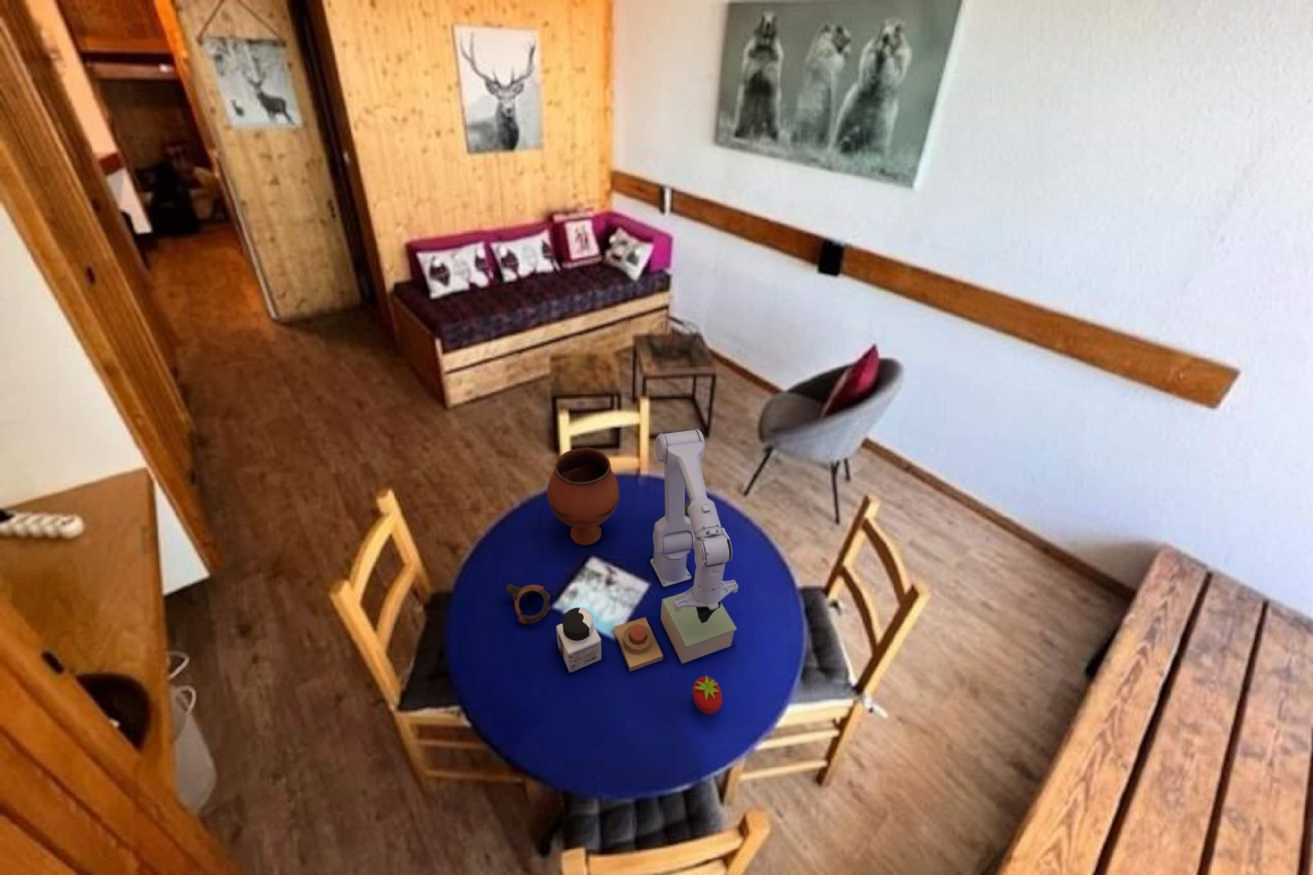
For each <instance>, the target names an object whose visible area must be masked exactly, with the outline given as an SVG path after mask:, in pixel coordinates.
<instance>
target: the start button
mask: <svg viewBox="0 0 1313 875" xmlns="http://www.w3.org/2000/svg"><path fill="white" fill-rule="evenodd" d="M645 639H646V631H645V629H644V628H643V627H640V626H636V627H634V628H632V629H631V631H630V640H631V641H632V642H633V643H634V644H642V643H643V642H644V641H645Z"/></svg>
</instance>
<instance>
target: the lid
mask: <svg viewBox="0 0 1313 875" xmlns="http://www.w3.org/2000/svg"><path fill="white" fill-rule="evenodd" d="M685 592H686V591H684V592H680V593H677V594H675V595H671V596H668V597H665V598H662V599H661V604H662V603H663V605H664V607H665V609H666V611H667V613H668V614H669V616H670V618H671V620H672V622H673V624H674V626H675V628H676V630H677V632H678V634H679V636H680V638H681V640H682V642H683V644H684V646H685V648H689V647H692V646H695V645H697V644H700V643H703V642H706V641H709V640H712V639H714V638H717V637H720V636H723V635H726V634H729V633H732V632H734V633H735V632H737V629H738V628H737V626H736V625H735V623H734V622H733V620H732V618H731V617H730V615H729V613H728V611H727V610H726V608H725V607H724V605H723V603H722V602H721V606H720V608H718V609H717V610H715V611H714V612H713V613H712V615H711V616H710V618H709V619H708V621H707V622H704V623H701V621H700V620H699V618H698V614H697V609H696V607H682V608H681V611H678V612H676V610H675V608H674V606H673V599H675V598H678V597H679V596H681V595H682V594H684V593H685Z"/></svg>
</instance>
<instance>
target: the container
mask: <svg viewBox="0 0 1313 875" xmlns="http://www.w3.org/2000/svg"><path fill="white" fill-rule="evenodd" d="M561 622H562V623H559V624H558V625H556V626H555V628H556V637H557V647H558V649H559V651H560V654H561V655H562V658H563V660H564V663H565V665H566V668H567V670H568V673H573V672H575V671H577V670H580V669H582V668H584V667H587V666H589V665H591V664H593V663H596V662H598V661H601V660H602V638H601V636H600V635H599V633H598V630H597V628H596V627H595V625H594V618H593V615H592V613H591V611H589V609H587V608H584V607H573V608H570V609H569V610H567V611H566V612H565V613H564V615H563V616H562V620H561Z"/></svg>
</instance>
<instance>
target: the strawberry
mask: <svg viewBox="0 0 1313 875" xmlns="http://www.w3.org/2000/svg"><path fill="white" fill-rule="evenodd" d="M692 698H693V701H694V703H695V706H696V707H697V708H698V710H699V711H700V712H702V713H703V714H706V715H713V714H716V713H717V712H718V711H719V710H720V708H721V706H722V703H723V696H722V690H721V687H720V685H719V682H717V681H716V680H715V679H713V678H712V677H709V676H708V675H707V674H706V675H705V676H704V675H703V676H699V677H698V678H697V679H696V680H695V682H694V684H693V686H692Z"/></svg>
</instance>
